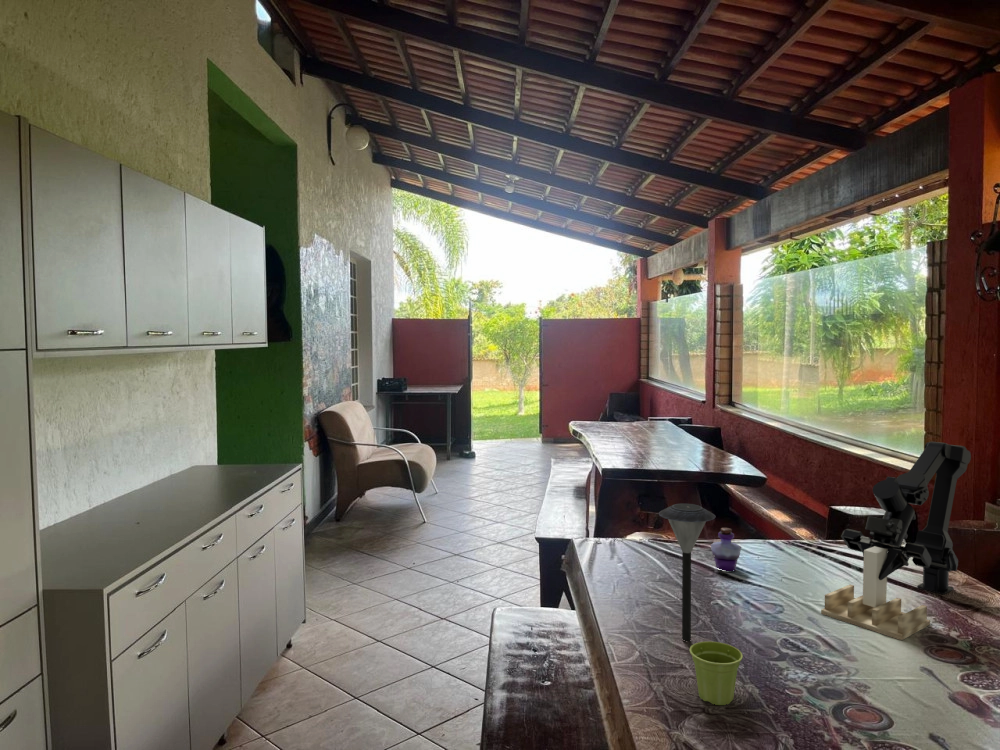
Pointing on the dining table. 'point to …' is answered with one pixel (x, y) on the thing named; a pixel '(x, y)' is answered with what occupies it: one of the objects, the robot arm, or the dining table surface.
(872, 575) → the cream rectangular block
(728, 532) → the potion bottle
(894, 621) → the ridged tan cradle
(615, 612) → the dining table surface
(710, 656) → the plant pot
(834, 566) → the dining table surface
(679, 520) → the solar garden light
